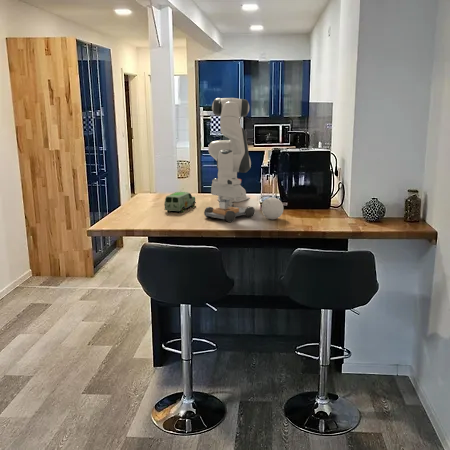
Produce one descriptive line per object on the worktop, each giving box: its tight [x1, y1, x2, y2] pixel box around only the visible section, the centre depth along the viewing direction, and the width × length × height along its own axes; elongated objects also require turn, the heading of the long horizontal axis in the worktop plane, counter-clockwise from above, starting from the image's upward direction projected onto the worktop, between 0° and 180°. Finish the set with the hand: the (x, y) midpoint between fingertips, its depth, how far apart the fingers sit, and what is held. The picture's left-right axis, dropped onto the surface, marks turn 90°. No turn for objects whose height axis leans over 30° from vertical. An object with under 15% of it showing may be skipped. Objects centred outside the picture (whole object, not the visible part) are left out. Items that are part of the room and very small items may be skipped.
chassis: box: [203, 204, 256, 223], centre depth 284 cm, size 24×18×6 cm
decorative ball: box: [261, 197, 284, 220], centre depth 279 cm, size 12×12×12 cm
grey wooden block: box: [218, 199, 234, 210], centre depth 281 cm, size 6×4×5 cm
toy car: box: [164, 191, 197, 213], centre depth 307 cm, size 11×25×10 cm, turn 161°
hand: (225, 204), depth 281 cm, fingers closed on grey wooden block, 4 cm apart
